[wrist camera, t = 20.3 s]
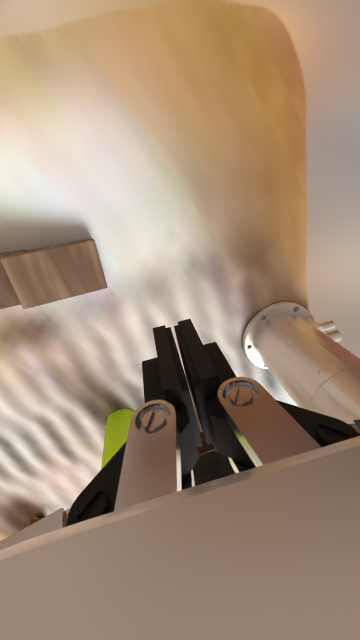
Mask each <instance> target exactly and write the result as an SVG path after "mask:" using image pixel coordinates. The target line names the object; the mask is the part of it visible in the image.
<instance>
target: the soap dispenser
mask: <svg viewBox="0 0 360 640" xmlns="http://www.w3.org/2000/svg"><path fill="white" fill-rule="evenodd" d="M134 412H135V411H133V410H130V409H119V410H116V411H114V412H112V413H111V414H110V415H109V416H108V418H107V421H106V431H105V440H104V449H103V458H102V467H101V470H102V468H103V467H104V466H105V465H106V464H107V463H108V462H109V460H110V459H111V458H112V457H113V456H114V455H115V454H116V452H117V451H118V450H119V449H120V448H121V447H122V446H123V444H124V443H125V442H126V441H127V436H128V431H129V425H130V420H131V418H132V415H133V414H134Z"/></svg>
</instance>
